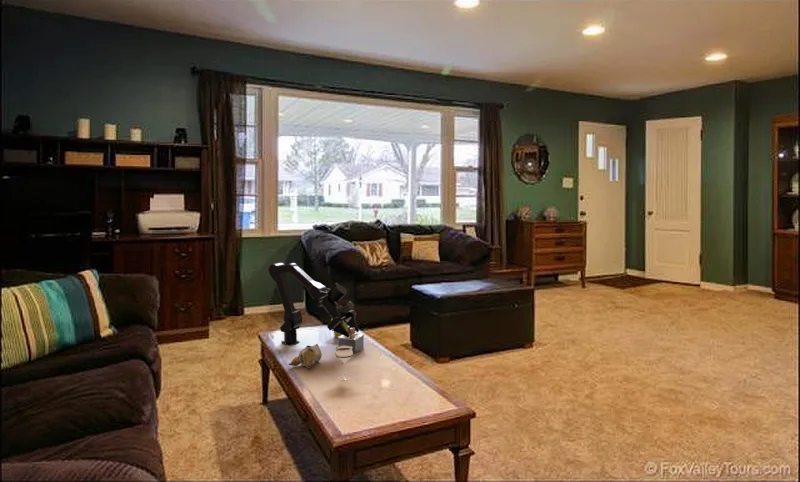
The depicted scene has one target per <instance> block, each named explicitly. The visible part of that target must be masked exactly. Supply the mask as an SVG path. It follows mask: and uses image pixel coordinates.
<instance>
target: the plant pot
mask: <svg viewBox="0 0 800 482" xmlns="http://www.w3.org/2000/svg"><path fill="white" fill-rule="evenodd" d="M346 323H347V322H344V321H343V326H344V327H345V329H346V330H347V328H348V327H349V326H348V325H347V324H346ZM333 329H334V328H333ZM333 329H332V330H333ZM333 335H334V338H336V339H339V338H338V337H339V336H341V335H342V334H340V333H338V332H335V331H333Z"/></svg>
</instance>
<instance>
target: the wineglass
mask: <svg viewBox="0 0 800 482" xmlns="http://www.w3.org/2000/svg"><path fill="white" fill-rule="evenodd" d="M352 348H353V347H352V346H347V345H343V346H339V345H338V346H336V347H335V358H337V360H338V361H340V362H342V363H343V365H342V366H343V375H341V376H340V375H339V376H338V380H340V381H348V380H351V376H349V375H346V362H347V361H349V360H350V359H352V357H353V355H354V354H353V351H352Z"/></svg>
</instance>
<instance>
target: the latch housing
mask: <svg viewBox="0 0 800 482" xmlns="http://www.w3.org/2000/svg"><path fill="white" fill-rule="evenodd" d="M349 335H350V334H349ZM364 336H365V334H363V333H359V332H355V334H352V336H349V337H346V336H344V335H341V336H339V337H338V338H337V339H338V346H343V345H347V346H352V347H353V348H352V351H353V355H357V354H358V353H360V352H361V351H363V350H364V349H365V348H364V347H365V346H364V342H365V341H364Z"/></svg>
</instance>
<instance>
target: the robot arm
mask: <svg viewBox="0 0 800 482" xmlns="http://www.w3.org/2000/svg"><path fill="white" fill-rule="evenodd" d="M267 271H268V273H269V276H270V278H271V280H273V281H274V282H275V284H276V287H277V291H278V294H279V297H280V301H281V304H282V308H283V309H284V315H283V321H284V322H283V323H282V325H281V326H280V327H279V330H280V332H282V333H283V336H284V337H283V339H284V340H281V343H282V344H284V345H286V346H291V345H295V344H299V343H300V341H299V340H298V339H297V336H298V334H297V330H298V329H300V327H301V325H302V323H303V318H304V317H303V316H302V311H301V310H300V309H299V310H297V309H296V307H295V305H294V301H293V297H292V294H291V292H290V288H289V285H288V282H287V276H288V273H290V274H291V275H292V276H293V277H294V278H295V279H296V280H297V281H298V282H300V283H301V284H302V286H304V287H305V288H306V289H307V292H308V294H309V295H310V296H311V298H312V299H314V300H315V301H316V300H318V301H317V308H321V307H322V308H324V310H325V311H326V313H328V314H327V316H328V317H331V320H330V321H329V322H328V323H327V325H326V327H327V329H328V330H329V331H332V332H334V331H335V332H338V333H340V334H342V335H344V336H346V337H349V336H350V335H349V333H348V332H347V330H346V329H345V327H344V326H343V321H344V322H347V323H346V324H347V325H348V327H355V332H356V333H359V332H360V328H359V327H358V324H357V321H356V316H357V312H356V311H355V304H354V303H353V302H352V301H351V300H350V301H347V302H346V303H345V305H343V306H342V304H338V303H337V302H340V301H341V300H342V299H343V298H344V297H345V296H346V295H347V293H348V290H347V289H346V287H345V286H343V285H342V284H339V283H338V282H335V283H334V284H333V286H332V287H331V288H328V287H326V285H323V284H322V283H321V282H318V281H315V280H314V279H313V278H312V277H311V276H309V275H308V274H307V272H305V271H304V270H303V269H302V268H301V267H299V266H298V263H295V262H291V263H283V262H277V263H272V264H270V265H269V267H268V269H267ZM320 299H321V300H320ZM333 328H334V329H333Z"/></svg>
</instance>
